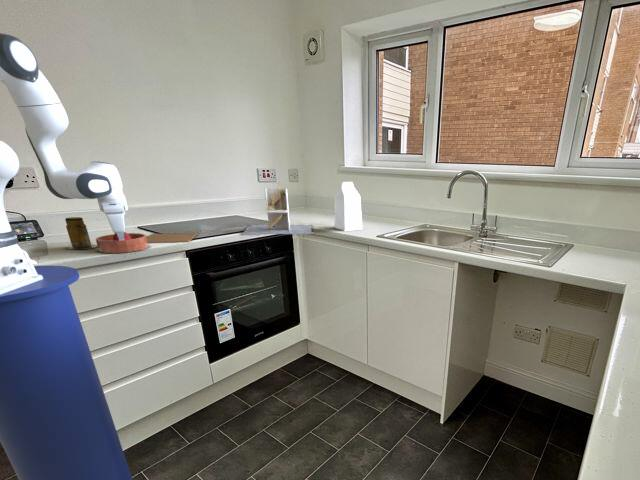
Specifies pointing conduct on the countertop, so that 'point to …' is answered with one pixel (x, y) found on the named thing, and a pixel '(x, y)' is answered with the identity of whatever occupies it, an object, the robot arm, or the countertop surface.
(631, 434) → the countertop surface
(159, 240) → the mat
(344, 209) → the milk
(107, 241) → the bowl
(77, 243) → the condiment
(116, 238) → the onion
